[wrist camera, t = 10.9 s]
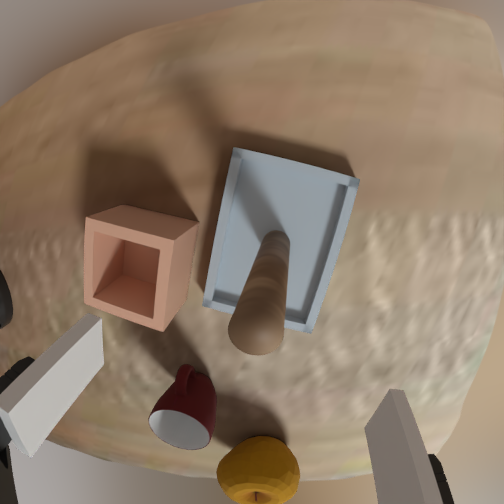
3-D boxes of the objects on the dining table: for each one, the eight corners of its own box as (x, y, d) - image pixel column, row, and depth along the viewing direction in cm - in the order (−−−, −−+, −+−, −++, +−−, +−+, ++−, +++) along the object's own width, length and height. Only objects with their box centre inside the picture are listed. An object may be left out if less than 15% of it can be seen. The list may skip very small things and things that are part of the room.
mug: (162, 345, 41) (132, 390, 31) (217, 346, 40) (197, 396, 30) (180, 400, 44) (159, 446, 34) (230, 402, 42) (216, 452, 33)
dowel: (259, 253, 34) (223, 347, 17) (265, 227, 33) (233, 301, 16) (286, 260, 34) (275, 360, 17) (293, 234, 33) (290, 316, 16)
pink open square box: (117, 277, 39) (84, 303, 31) (123, 204, 35) (85, 217, 28) (186, 299, 38) (163, 332, 30) (199, 222, 35) (174, 240, 27)
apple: (263, 472, 48) (256, 520, 37) (210, 441, 46) (195, 492, 35) (317, 447, 44) (317, 502, 33) (262, 412, 42) (253, 472, 32)
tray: (310, 324, 37) (311, 333, 35) (207, 297, 38) (202, 305, 35) (355, 178, 31) (360, 179, 29) (237, 147, 32) (233, 147, 30)
